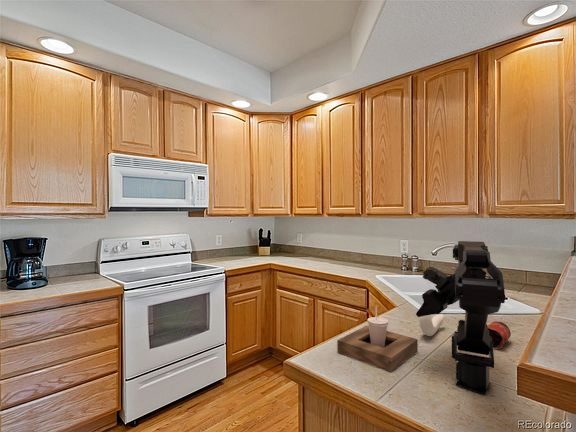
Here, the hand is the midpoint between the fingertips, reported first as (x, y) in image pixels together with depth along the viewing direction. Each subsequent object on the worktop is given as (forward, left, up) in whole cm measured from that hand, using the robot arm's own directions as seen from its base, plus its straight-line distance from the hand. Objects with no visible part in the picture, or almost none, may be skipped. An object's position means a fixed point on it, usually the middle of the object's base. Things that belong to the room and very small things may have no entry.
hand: (422, 312), depth 95 cm
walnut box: (+11, +7, -14) cm, 19 cm away
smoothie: (+11, +7, -13) cm, 19 cm away
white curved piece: (+4, -20, -14) cm, 25 cm away
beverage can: (-14, -26, -14) cm, 33 cm away
